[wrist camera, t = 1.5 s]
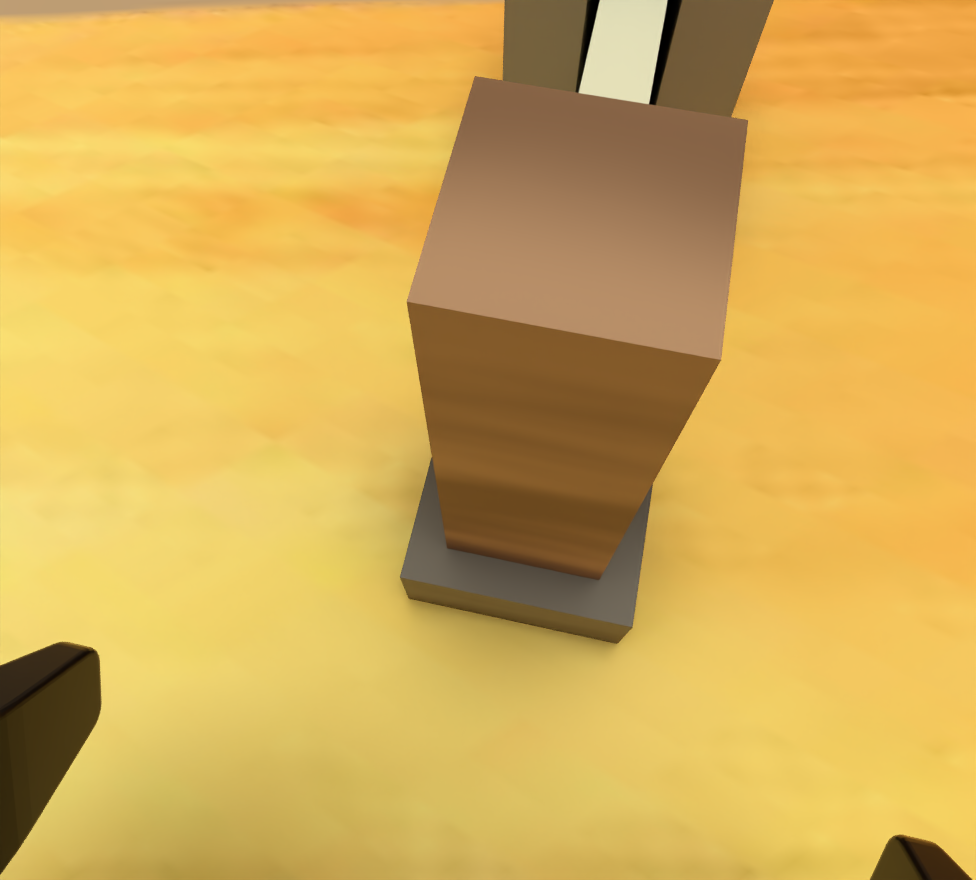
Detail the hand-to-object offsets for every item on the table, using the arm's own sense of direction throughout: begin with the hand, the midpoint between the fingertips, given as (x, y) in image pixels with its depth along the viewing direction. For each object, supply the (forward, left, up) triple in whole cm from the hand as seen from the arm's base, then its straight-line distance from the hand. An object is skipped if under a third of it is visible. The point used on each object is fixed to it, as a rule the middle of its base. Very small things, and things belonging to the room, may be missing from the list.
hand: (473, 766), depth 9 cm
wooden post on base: (+5, +5, -13) cm, 15 cm away
